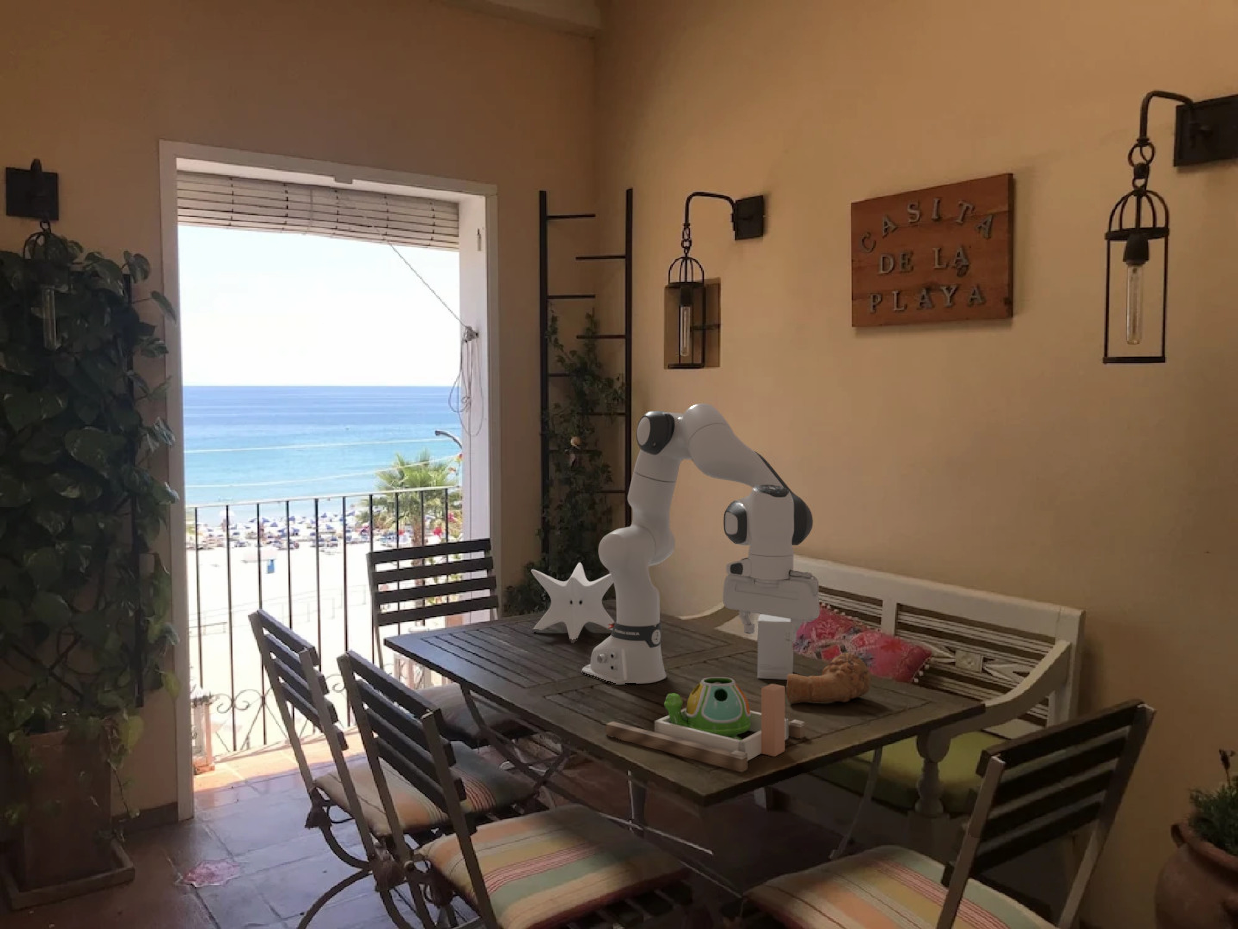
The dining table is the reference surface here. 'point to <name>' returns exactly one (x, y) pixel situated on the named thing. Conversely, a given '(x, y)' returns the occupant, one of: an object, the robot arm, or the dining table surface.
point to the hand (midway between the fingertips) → (769, 637)
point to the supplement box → (774, 647)
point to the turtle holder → (712, 708)
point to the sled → (765, 724)
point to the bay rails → (691, 744)
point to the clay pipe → (831, 682)
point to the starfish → (575, 601)
